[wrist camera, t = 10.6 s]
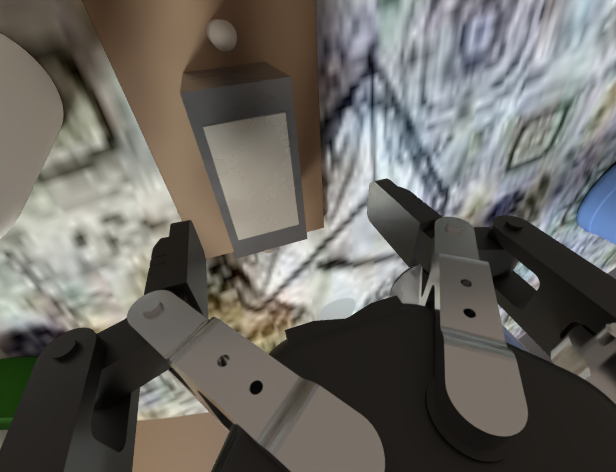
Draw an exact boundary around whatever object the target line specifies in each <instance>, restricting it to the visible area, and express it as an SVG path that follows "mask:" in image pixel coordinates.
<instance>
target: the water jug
mask: <svg viewBox="0 0 616 472" xmlns="http://www.w3.org/2000/svg"><path fill="white" fill-rule="evenodd" d="M577 222H578V224H579V226H580V227H581V228H583V229H584V230H586V231H588V232H590V233H592V234H597V235H599V236H600V237H602V238H604V239H606V240H608V241H610V242H612V243H614V244H615V245H616V164H615V165H614V166H613V167H612V168H611V169H609V170H608V171H607V172H606V173H605V174H604V175H603V176H602V177H601V178H600V179H599V180H598V182H597V183H596V184H595V185H594V186H593V187H592V189H591V190H590V191H589V192H588V194H587V195H586V197H585V198H584V200H583V202H582V203H581V205H580V207H579V210H578V213H577Z"/></svg>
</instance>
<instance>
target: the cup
mask: <svg viewBox="0 0 616 472" xmlns="http://www.w3.org/2000/svg"><path fill="white" fill-rule="evenodd" d="M62 123H63V106H62V101H61V98H60V95H59V93H58V90H57V88H56V87H55V85H54V83H53V81H52V80H51V78H50V77H49V75H48V74H47V73H46V71H45V70H44V69H43V68H42V67H41V65H40V64H39V63H38V62H37V61H36V60H35V59H34V58H33V57H32V56H31V55H30V54H29V53H28V52H26V51H25V50H24V49H23V48H21V47H20V46H19V45H18V44H16V43H15V42H13V41H12V40H11V39H9V38H8V37H6V36H4V35H3V34H1V33H0V239H1V238H2V237H3V236H4V235H5V234H6V233H7V232H8V231H9V230H10V229H11V227H12V226H13V225H14V223H15V222H16V220H17V219H18V217H19V216H20V214H21V212H22V210H23V208H24V206H25V204H26V202H27V200H28V198H29V195H30V193H31V191H32V189H33V187H34V185H35V183H36V181H37V178H38V176H39V174H40V172H41V170H42V168H43V166H44V164H45V161H46V159H47V157H48V155H49V153H50V151H51V149H52V146H53V144H54V142H55V140H56V138H57V136H58V134H59V131H60V129H61V127H62Z"/></svg>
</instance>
